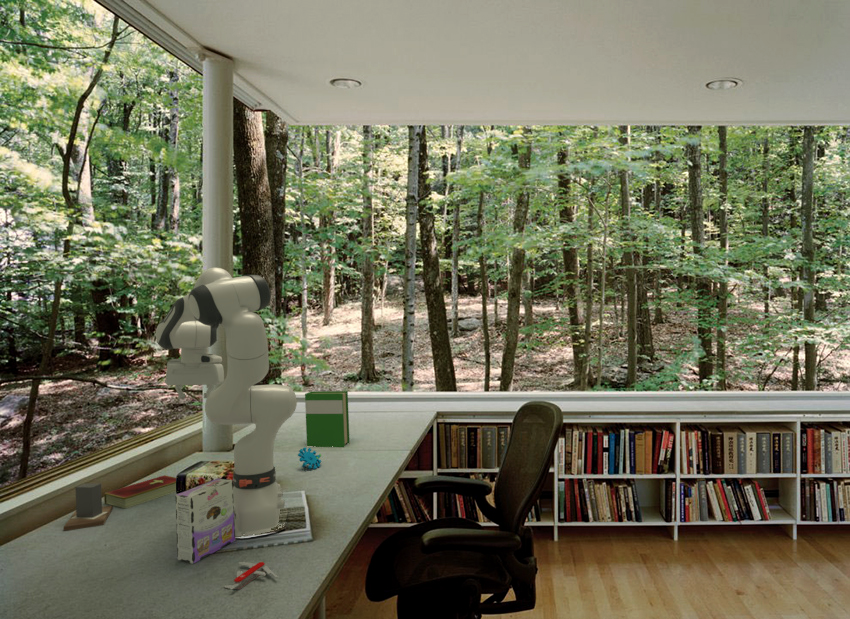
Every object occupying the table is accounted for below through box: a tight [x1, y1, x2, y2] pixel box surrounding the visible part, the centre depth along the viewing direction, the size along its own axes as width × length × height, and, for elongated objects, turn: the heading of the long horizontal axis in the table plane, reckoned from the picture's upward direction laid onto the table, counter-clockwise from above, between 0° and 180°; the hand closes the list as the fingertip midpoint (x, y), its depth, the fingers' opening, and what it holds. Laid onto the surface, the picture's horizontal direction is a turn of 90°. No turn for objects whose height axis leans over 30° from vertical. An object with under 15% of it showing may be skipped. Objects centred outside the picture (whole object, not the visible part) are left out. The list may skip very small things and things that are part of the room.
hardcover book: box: [103, 474, 177, 509], centre depth 182 cm, size 12×21×4 cm, turn 149°
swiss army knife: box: [223, 561, 278, 590], centre depth 120 cm, size 12×14×2 cm
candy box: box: [175, 477, 236, 565], centre depth 137 cm, size 14×6×16 cm, turn 154°
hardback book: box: [304, 390, 350, 448], centre depth 244 cm, size 18×7×24 cm, turn 79°
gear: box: [297, 446, 322, 470], centre depth 210 cm, size 11×6×10 cm
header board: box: [63, 504, 114, 532], centre depth 162 cm, size 14×10×4 cm
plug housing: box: [75, 482, 103, 518], centre depth 162 cm, size 6×4×9 cm, turn 81°
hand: (194, 398), depth 185 cm, fingers open, 8 cm apart
